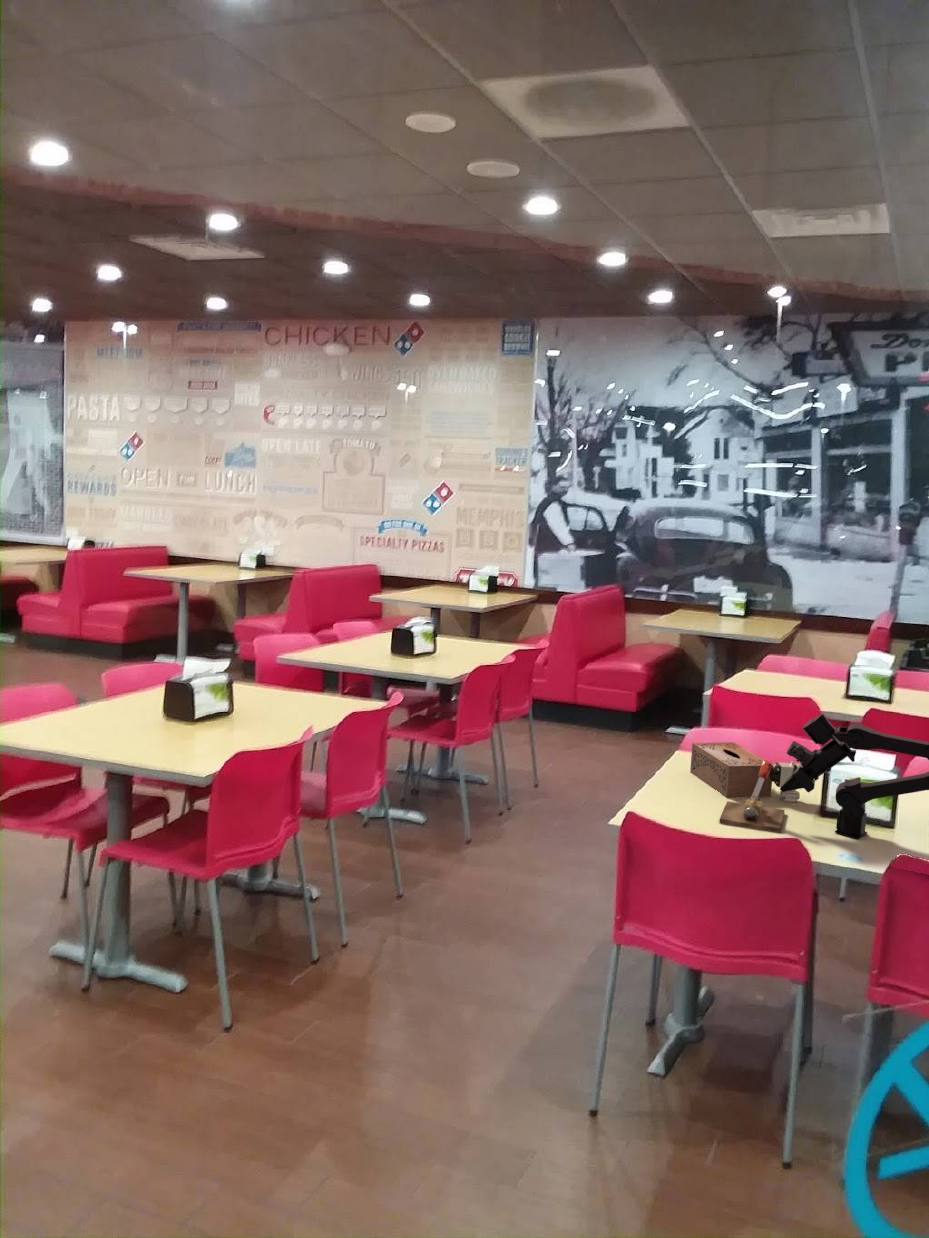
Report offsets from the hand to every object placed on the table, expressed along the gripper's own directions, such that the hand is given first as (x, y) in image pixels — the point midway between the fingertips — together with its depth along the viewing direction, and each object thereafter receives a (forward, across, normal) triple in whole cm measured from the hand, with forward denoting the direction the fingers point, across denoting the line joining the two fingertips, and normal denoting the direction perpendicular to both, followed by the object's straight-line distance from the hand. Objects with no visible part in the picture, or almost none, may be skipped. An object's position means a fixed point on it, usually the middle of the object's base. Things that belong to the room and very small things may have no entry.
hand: (781, 790), depth 283 cm
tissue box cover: (+19, -30, -5) cm, 36 cm away
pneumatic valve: (+6, -23, +8) cm, 25 cm away
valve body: (+12, 0, +2) cm, 12 cm away
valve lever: (+7, 0, -2) cm, 8 cm away
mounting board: (+12, 0, +2) cm, 12 cm away
